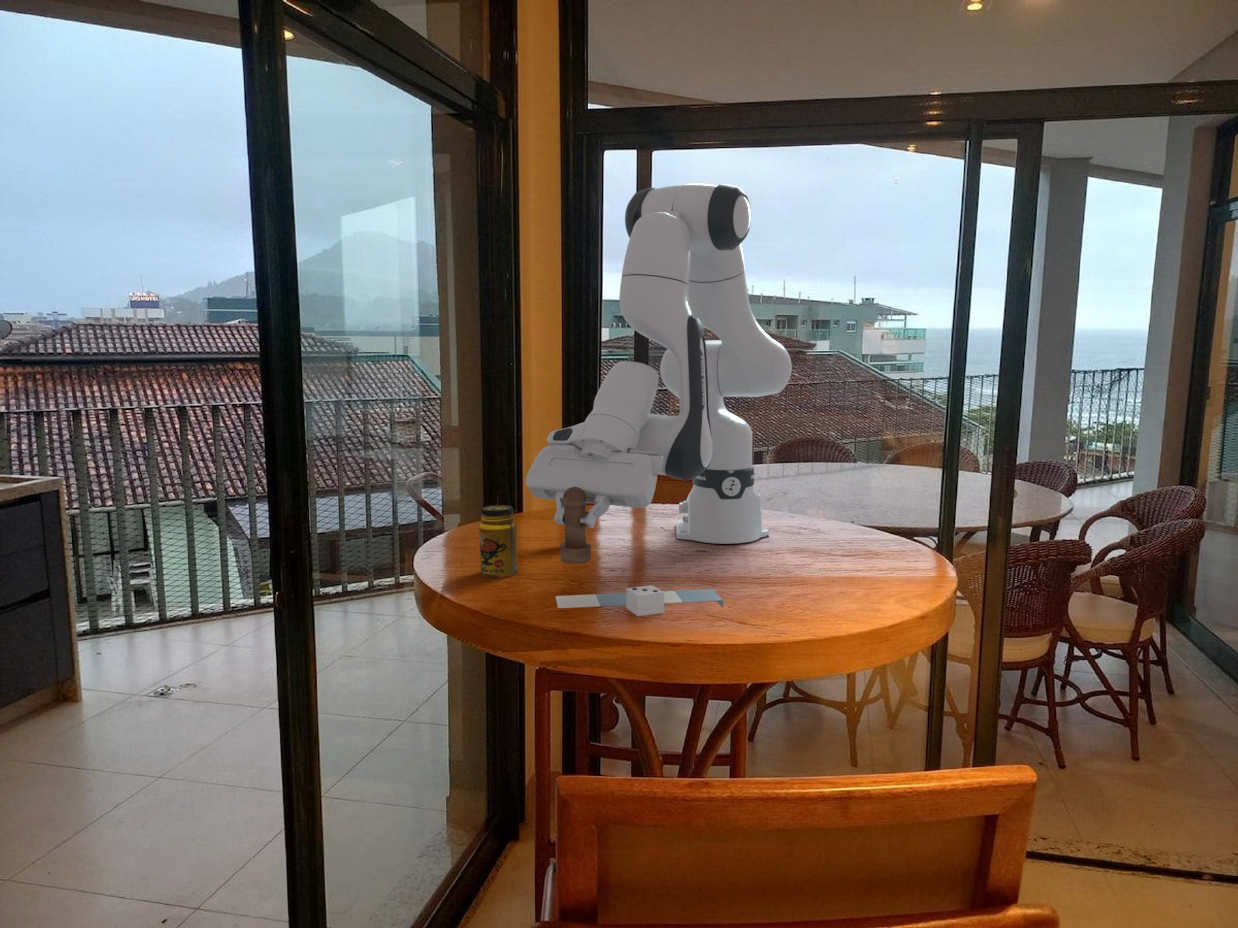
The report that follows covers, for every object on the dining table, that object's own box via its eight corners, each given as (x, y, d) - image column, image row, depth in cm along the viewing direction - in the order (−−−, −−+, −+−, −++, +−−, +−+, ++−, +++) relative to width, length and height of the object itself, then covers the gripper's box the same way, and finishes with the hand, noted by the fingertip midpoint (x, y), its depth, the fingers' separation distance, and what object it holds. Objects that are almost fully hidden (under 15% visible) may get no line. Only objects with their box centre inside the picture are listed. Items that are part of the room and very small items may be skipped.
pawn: (559, 556, 127) (557, 484, 125) (589, 554, 127) (588, 483, 125) (561, 564, 122) (559, 490, 121) (592, 562, 123) (591, 489, 121)
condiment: (474, 584, 138) (472, 511, 137) (483, 571, 147) (481, 502, 145) (520, 584, 138) (518, 511, 137) (526, 571, 147) (524, 501, 145)
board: (555, 602, 128) (555, 596, 128) (713, 595, 131) (713, 589, 131) (558, 614, 122) (558, 607, 122) (723, 606, 125) (723, 600, 125)
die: (626, 615, 122) (626, 587, 121) (652, 612, 123) (652, 584, 123) (637, 623, 118) (637, 594, 117) (664, 620, 120) (664, 591, 119)
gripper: (673, 464, 128) (644, 543, 121) (557, 456, 137) (524, 528, 130) (660, 438, 123) (629, 518, 116) (540, 431, 133) (505, 505, 126)
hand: (572, 523), depth 123 cm, fingers closed on pawn, 3 cm apart
